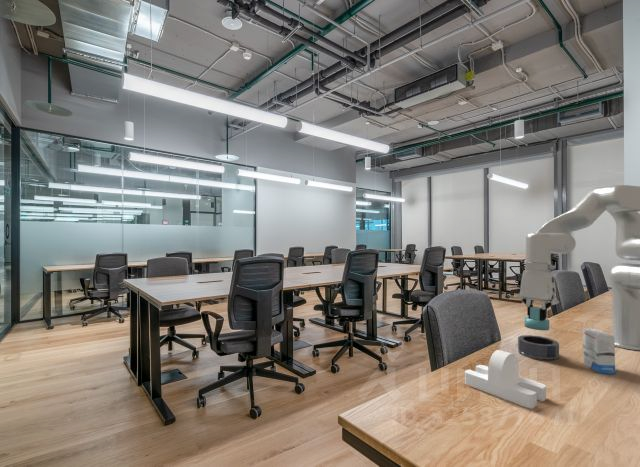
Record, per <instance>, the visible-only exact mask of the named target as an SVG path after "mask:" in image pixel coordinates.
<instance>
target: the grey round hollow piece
mask: <svg viewBox="0 0 640 467" xmlns="http://www.w3.org/2000/svg"><path fill="white" fill-rule="evenodd" d="M517 349H518V354H520V355H521V356H524V357H526V358H530V359H534V360H540V361H549V362H550V361H557V360H558V359H559V356H560V343H559V342H558V340H555V339H553V338H549V337H544V336H539V335H533V334H532V335H531V334H528V335H526V334H524V335H519V336H518V337H517Z"/></svg>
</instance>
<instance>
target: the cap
mask: <svg viewBox="0 0 640 467" xmlns="http://www.w3.org/2000/svg"><path fill="white" fill-rule="evenodd" d="M540 309H541V307H540V306H533V307H531V308H530V318H528V316H525V317H524V325H523V326H524V327H525V328H527V329H529V330H535V331H536V330H537V331H549V330H550V320H549V319H547V318H546V319H545V320H543V321H540Z"/></svg>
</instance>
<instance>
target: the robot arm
mask: <svg viewBox="0 0 640 467" xmlns="http://www.w3.org/2000/svg"><path fill="white" fill-rule="evenodd" d="M605 211H606V212H607V213H608V214H610V216H612V219H613V220H614V222H615V226H616V227H615V254H616V256H617V257H618V258H620V259H623V260H626V261H627V260H628V261H636V262H637V261H639V262H640V186H637V185H628V184H615V185H607V186H598V187H594V188H592V189H589V190H588V191H587V192H586V193H585V194H584V195H583V196H582V197H581V198H580V199H579V200H578V201H577V202H576V203H575V204H574V205H573V207H572V208H570V209H569V210H568V211H566V212H564V213H562V214H560V215H559V216H558V215H557V217H553V219H551V220H548V221H547V222H546V223H544V224H542V226H541V227H540V228H539V229H538V230H537V231H536V232H530V233H528V234H526V237H525V270H523V271H522V275H521V281H520V290H519V293H518V294H517V295H516V298H517V299H519V301H520V300H521V302H523V303H524V305H525V306H526V307H527V309H526V310H527V311H526V312H527V317H528V318H530V308H531V307H534V300H537V301H540V304H541V305H540V306H541V309H540V321H543V320H545V319H547V318H548V315H547V314H548V309H549V308H551V307H552V306H554V305H557V304H559V303H560V301H559V299H558V297H557V293H556V292H557V290H556V289H557V288H556V281H555V275H554V272H553V271H552V270H555V269H556V265H553V264H552V262H551V256H552V254H555V255H556V254H558V255H565V254H566V255H567V254H569V253H571V252H573V251H574V250H575V248H576V245H577V242H576V239H575V238H574V236H573V235H571V234H569V233H572V232H577V231H580V230H583V229H587V228H589V227H590V226H592V225H593V224H594V223H595V222H596V220H598V218H599V217H600V216H601V215H602V214H603V213H604V212H605ZM551 271H552V272H551ZM608 278H609V282H610V286H611V287H610V288H611V293H612V294H611V295H612V301H611V302H612V304H611V306H612V310H611V312H612V314H611V315H612V318H611V321H612V326H611V327H612V329H611V331H612V332H611V333H612V334H611V335H612V336H614V346H615V347H617V348H622V349H626V350H633V351H640V264H639V263H628V262H627V263H617V264H615V265H613V266H611V268H610V269H609V271H608Z"/></svg>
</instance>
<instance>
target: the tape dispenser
mask: <svg viewBox="0 0 640 467" xmlns="http://www.w3.org/2000/svg"><path fill="white" fill-rule="evenodd" d="M487 365H488V366H487ZM487 365H483V364H478V365H476V366H474V368H475V370H472V369H470V368H469V369H466V370H465V371H464V385H466V386H469V387H471V388H474V389H477V390H479V391H482V392H485V393H488V394H490V395H493V396H495V397H498V398H501V399H503V400H506V401H509V402H512V403H513V402H514V404H517V405H519V406H521V407H524V408H528V409H534V408H535V406H536V407H537V406H538V401H541V402H545V401H546V400H547V385H545V384H544V383H541V382H538V381H535V380H531V379H529V378H525V377H522V376H519V362H518V358H517V356H516V354H515V353H512V352H508V351H505V350H501V349H496V350H495V351H494V352H492V354H491V356H490V359H489V361H488V364H487Z"/></svg>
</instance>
